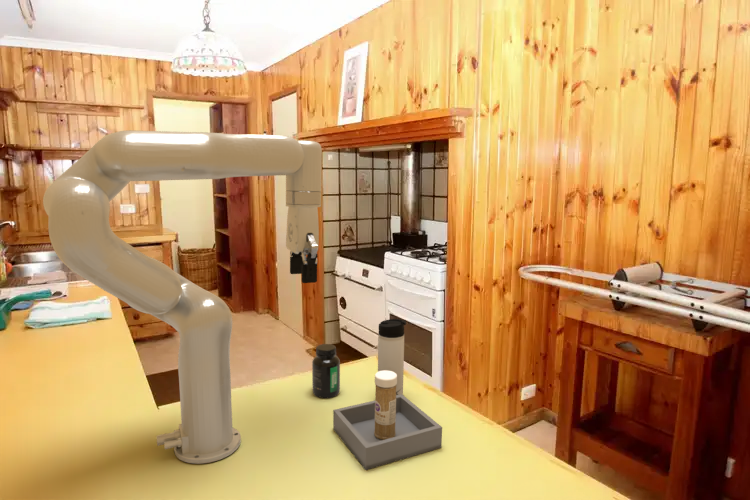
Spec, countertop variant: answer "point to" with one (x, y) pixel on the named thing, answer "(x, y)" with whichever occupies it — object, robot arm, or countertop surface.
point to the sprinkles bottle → (385, 404)
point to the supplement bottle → (326, 372)
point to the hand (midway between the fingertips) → (302, 277)
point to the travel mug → (392, 349)
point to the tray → (410, 438)
